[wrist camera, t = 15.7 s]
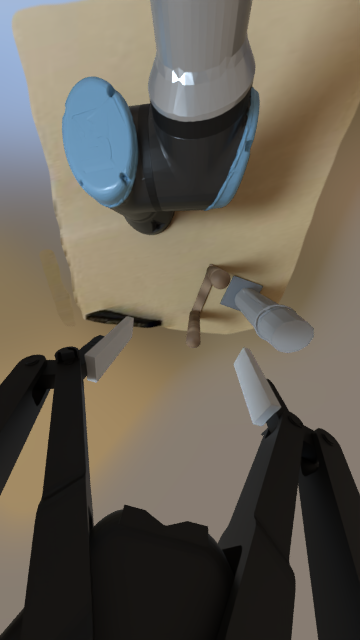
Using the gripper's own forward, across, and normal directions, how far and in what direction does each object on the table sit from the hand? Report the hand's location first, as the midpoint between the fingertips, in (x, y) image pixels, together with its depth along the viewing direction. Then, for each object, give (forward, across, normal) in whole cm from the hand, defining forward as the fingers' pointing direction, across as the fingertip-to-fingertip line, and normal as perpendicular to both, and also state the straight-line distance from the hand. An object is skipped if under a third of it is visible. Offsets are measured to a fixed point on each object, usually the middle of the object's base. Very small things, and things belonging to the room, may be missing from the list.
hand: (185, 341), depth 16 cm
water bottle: (+33, +17, 0) cm, 38 cm away
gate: (+34, +4, -3) cm, 34 cm away
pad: (+34, +16, 0) cm, 38 cm away
